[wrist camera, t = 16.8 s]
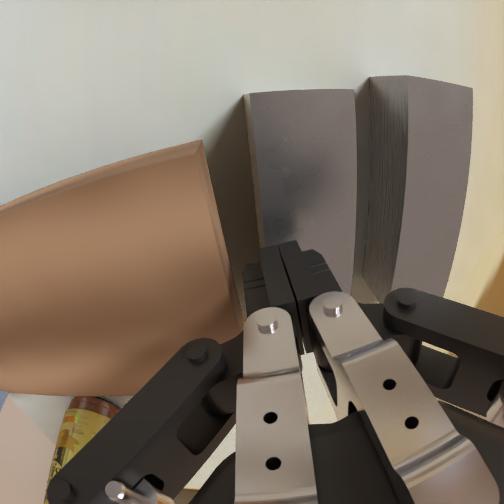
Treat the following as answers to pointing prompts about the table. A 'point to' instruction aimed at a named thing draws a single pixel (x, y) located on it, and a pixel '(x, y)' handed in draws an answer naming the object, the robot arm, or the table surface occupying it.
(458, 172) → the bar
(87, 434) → the sauce bottle
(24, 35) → the table surface
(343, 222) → the bar middle
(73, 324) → the slab
